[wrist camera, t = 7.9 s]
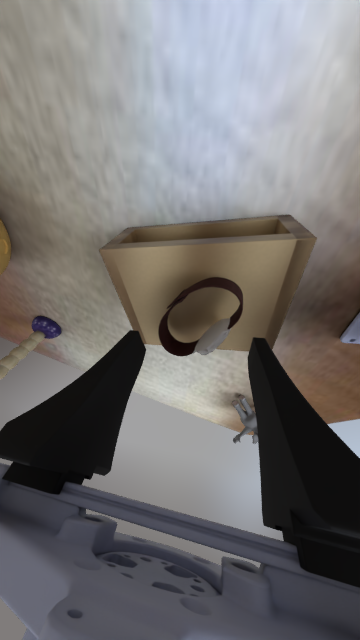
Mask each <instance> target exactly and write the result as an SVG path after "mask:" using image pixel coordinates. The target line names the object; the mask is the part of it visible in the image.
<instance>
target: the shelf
mask: <svg viewBox="0 0 360 640" xmlns="http://www.w3.org/2000/svg"><path fill="white" fill-rule="evenodd" d="M316 240H317V238H316V237H315V236H314V235H313V234H312V233H310V232H309V231H308V230H307V229H306V228H305V227H304V226H302V225H301V224H300V223H299V222H298V221H297V220H295V219H294V218H293V217H292V216H291V215H282V216H269V217H257V218H245V219H232V220H220V221H207V222H195V223H182V224H170V225H157V226H145V227H132V228H127V229H126V230H124V231H123V232H122V233H121V234H119V235H118V236H117V237H115V238H114V239H113V240H111V241H110V242H109V243H107V244H106V245H105V246H103V247H102V248H101V249H99V251H100V254H101V256H102V258H103V261H104V263H105V265H106V268H107V270H108V272H109V275H110V277H111V279H112V282H113V284H114V286H115V289H116V291H117V293H118V296H119V298H120V300H121V303H122V305H123V307H124V310H125V312H126V314H127V317H128V319H129V321H130V324H131V326H132V328H133V331H139V333H140V336H141V338H142V341H143V343H144V344H151V345H162V344H161V342H160V339H159V334H158V329H159V324H160V321H161V319H162V317H163V316H164V315H165V313H166V312H167V311H168V310H169V309H170V308H171V307H169V308H168V309H166V308H167V307H168V306H169V305H170V304H171V303H172V301H173V300H174V299H175V298H176V297H177V296H178V295H179V294H180V293H181V292H182V291H183V290H184V289H185V290H186V289H187V288H189V287H190V286H192V285H194V284H195V283H197V282H199V281H201V280H204V279H207V278H211V277H221V278H226V279H229V280H231V281H233V282H235V283H236V284H237V285H238V286H239V287H240V288H241V290H242V293H243V312H242V315H241V317H240V319H239V321H238V322H237V323H236V324H235V325H234V326H233V327H232V328H231V330H230V332H229V334H228V336H227V337H226V339H225V340H224V341H223V342H222V343H221V344H220V345H219V346H218V347H217V348H216V349H222V350H237V351H250V347H251V343H252V339H253V337H257V338H265V339H266V340H267V342H268V344H269V346H270V348H271V350H272V349H273V346H274V344H275V341H276V339H277V336H278V334H279V331H280V329H281V326H282V324H283V321H284V319H285V316H286V314H287V312H288V309H289V307H290V304H291V302H292V299H293V297H294V294H295V292H296V289H297V287H298V284H299V282H300V279H301V277H302V274H303V272H304V269H305V267H306V264H307V262H308V259H309V257H310V254H311V252H312V249H313V247H314V245H315V242H316ZM239 305H240V302H239V300H238V298H237V297H236V296H235V295H234V294H233V293H232V292H230V291H228V290H225V289H222V288H216V287H207V288H202V289H199V290H196V291H194V292H192V293H189V294H188V296H187V297H186V298H185V299H184V300H183V301H182V302H181V303H178V304H177V305H176V306H175V307H174V308H173V309H172V310H171V311H170V313H169V316H168V329H169V331H170V333H171V335H172V336H173V337H174V338H175V339H176V340H178V341H180V342H183V343H190V342H194V341H197V340H199V339H200V338H201V337H202V335H203V334H204V333H205V332H206V331H207V330H208V329H209V328H210V327H211V326H212V325H214V324H215V323H216V322H218V321H220V320H221V319H226V318H227V319H229V318H230V317H231V316H232V315H233V314H234V313H235V312H236V310H237V309H238V307H239Z"/></svg>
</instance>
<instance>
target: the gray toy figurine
mask: <svg viewBox="0 0 360 640" xmlns="http://www.w3.org/2000/svg"><path fill="white" fill-rule="evenodd" d="M238 398H239V400H240V401H241V403H242V405H243V406H244V408H245V410H246V411H244V410H243V409H242V408H241V407H240V405H239V404H238V402H237V401H233V402H232V404H233V406H234V407H235V408H236V410H237V411H238V413H239V415H240V417H241V421H242V423H243V424H244V425H245V428H244V429H243V431H242V432H241V433H240V434H238V435H237V436H236V437H235V438H234V439H233V442H234V443H236V442H237V441H239V442H240V438H241V436H243V435H245V434H247V433H249V432H251V431H253V432H254V435H253V436H252V437H253V443H257V442H258V431H257V420H256V414H255V412H254V411H253V410H252V409H251V408H250V406H249V405H248V403H247V401H246V399H245V397H244V396H243V395H239V397H238Z"/></svg>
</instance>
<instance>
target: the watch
mask: <svg viewBox="0 0 360 640" xmlns="http://www.w3.org/2000/svg"><path fill="white" fill-rule="evenodd" d="M207 287H216V288H222V289H225V290H228V291H230V292H232V293H233V294H234V295H235V296H236V297H237V298H238V300H239V302H240V305H239V307H238V309H237V310H236V312H235V313H234V314H233V315H232V316H231V317H230V318H229V319H227V318H226V319H221V320H220V321H218V322H216V323H215V324H214V325H212V326H211V327H210V328H209V329H208V330H207V331H206V332H205V333H204V334H203V335H202V337H201V338H200V339H199V340H197V341H194V342H190V343H183V342H180V341H178V340H176V339H175V338H174V337H173V336H172V335H171V333H170V331H169V329H168V316H169V313H170V311H171V310H172V309H173V308H174V307H175V306H176V305H177V304H178V303H181V302H182V301H183V300H184V299H185V298H186V297H187V296H188V294H189V293H192V292H194V291H196V290H199V289H202V288H207ZM169 307H171V308H170V309H169V310H168V311H167V312H166V313H165V315H164V316H163V317H162V319H161V321H160V324H159V329H158V334H159V339H160V342H161V344H162V346H163V347H164V348H165V350H166V351H168V352H169V353H171V354H173V355H176V356H187V355H190V354H192V353H195V352H198V353H200V354H201V355H206V354H208V353H210V352H212V351H213V350H215V349H216V348H217V347H218V346H219V345H220V344H221V343H222V342H223V341H224V340H225V339H226V337H227V336H228V334H229V332H230V330H231V328H232V327H233V326H234V325H235V324H236V323H237V322H238V321H239V319H240V317H241V315H242V312H243V293H242V290H241V288H240V287H239V286H238V285H237V284H236V283H235V282H233V281H231V280H229V279H226V278H221V277H211V278H207V279H204V280H201V281H199V282H197V283H195V284H194V285H192V286H190V287H189V288H187V289H186V290H185V289H184V290H183V291H182V292H181V293H180V294H179V295H178V296H177V297H176V298H175V299H174V300H173V301H172V303H171V304H170V305H169V306H168V307H167V308H166V309H168V308H169Z"/></svg>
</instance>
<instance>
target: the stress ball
mask: <svg viewBox="0 0 360 640" xmlns="http://www.w3.org/2000/svg"><path fill="white" fill-rule="evenodd" d="M10 256H11V243H10V238H9V235H8V233H7V230H6V228H5V226H4V224H3V222H2V221H1V219H0V275H1V274H2V273H3V272H4V271H5V269H6V268H7V266H8V263H9V261H10Z"/></svg>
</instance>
